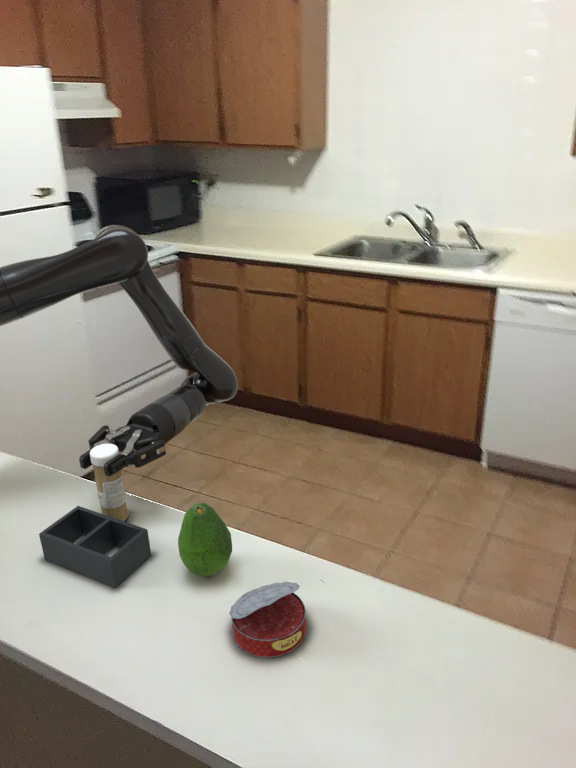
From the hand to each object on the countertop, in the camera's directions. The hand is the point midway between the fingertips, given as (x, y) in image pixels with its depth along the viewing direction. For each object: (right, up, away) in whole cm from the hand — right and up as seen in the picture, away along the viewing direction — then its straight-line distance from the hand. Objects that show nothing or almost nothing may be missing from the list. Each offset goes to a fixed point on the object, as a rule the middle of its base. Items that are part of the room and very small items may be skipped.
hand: (94, 467), depth 107 cm
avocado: (+19, -15, -6) cm, 25 cm away
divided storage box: (+1, -14, -2) cm, 14 cm away
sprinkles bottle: (+2, -10, +7) cm, 12 cm away
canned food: (+28, -20, -17) cm, 39 cm away
